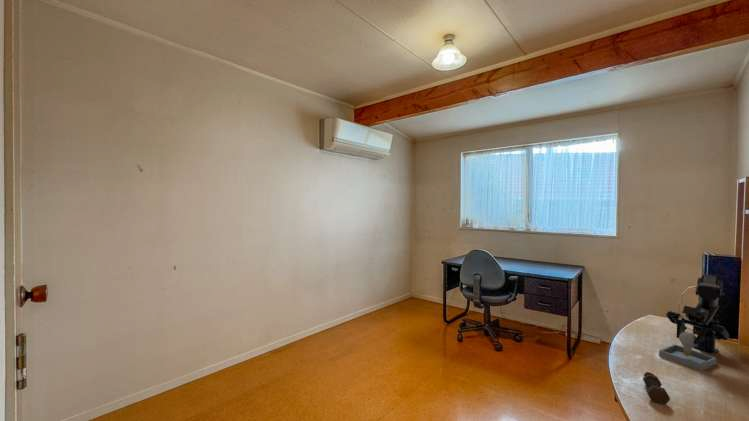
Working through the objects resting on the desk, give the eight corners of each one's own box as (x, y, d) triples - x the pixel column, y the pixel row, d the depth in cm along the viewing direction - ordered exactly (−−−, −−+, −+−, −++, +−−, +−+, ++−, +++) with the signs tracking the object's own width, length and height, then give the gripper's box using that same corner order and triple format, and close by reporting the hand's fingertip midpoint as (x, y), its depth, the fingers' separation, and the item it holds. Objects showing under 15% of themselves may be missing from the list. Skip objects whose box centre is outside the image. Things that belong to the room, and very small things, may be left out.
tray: (674, 349, 141) (674, 344, 141) (716, 363, 129) (716, 357, 129) (658, 355, 135) (659, 350, 135) (701, 371, 124) (701, 365, 123)
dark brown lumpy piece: (651, 386, 116) (661, 408, 104) (636, 376, 119) (644, 396, 106) (662, 375, 115) (673, 396, 102) (647, 365, 117) (656, 384, 104)
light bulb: (693, 360, 129) (694, 336, 128) (675, 354, 134) (676, 331, 133) (698, 357, 131) (700, 333, 131) (681, 351, 136) (682, 328, 135)
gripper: (669, 292, 141) (651, 320, 138) (726, 307, 123) (706, 338, 121) (680, 308, 144) (662, 335, 141) (737, 324, 126) (718, 355, 123)
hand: (685, 340), depth 132 cm, fingers closed on light bulb, 5 cm apart
